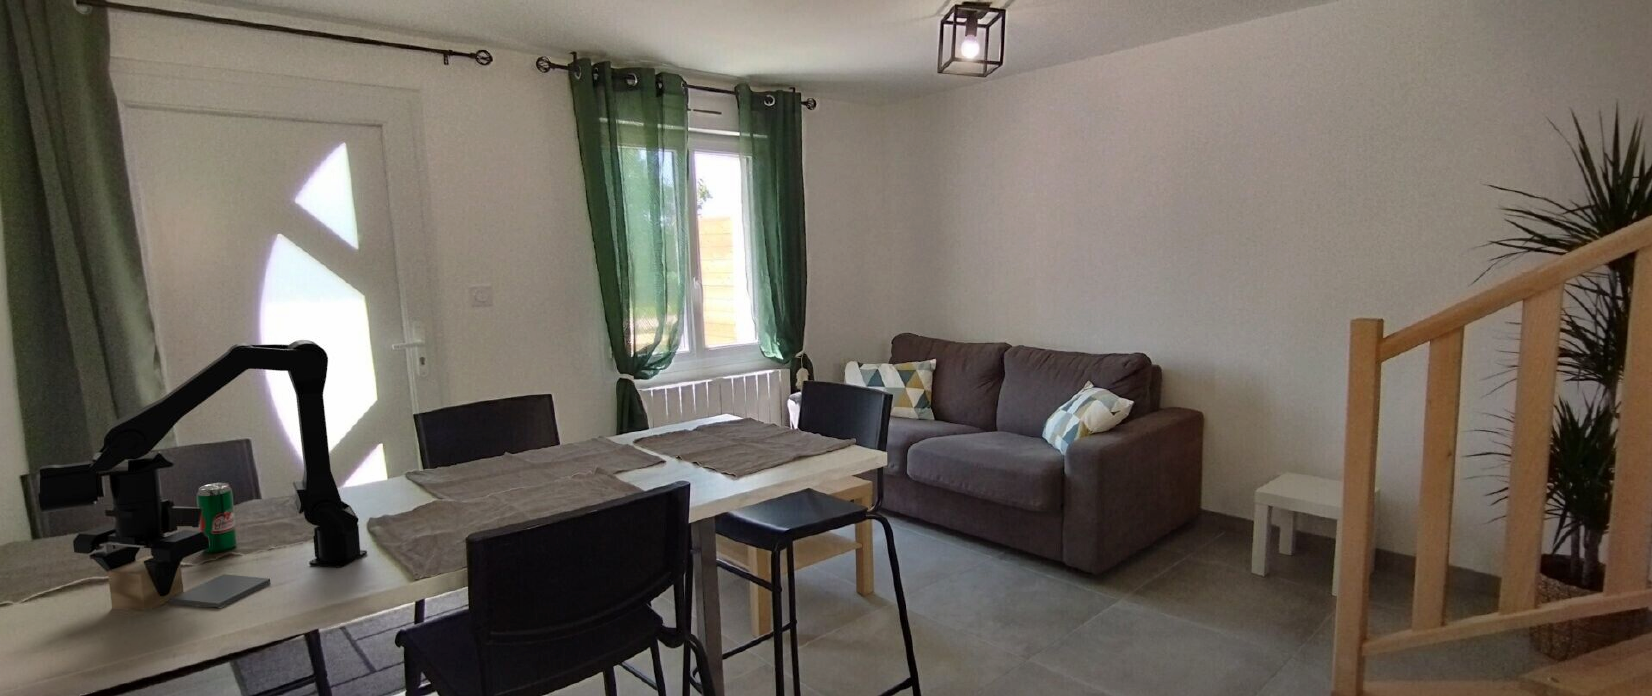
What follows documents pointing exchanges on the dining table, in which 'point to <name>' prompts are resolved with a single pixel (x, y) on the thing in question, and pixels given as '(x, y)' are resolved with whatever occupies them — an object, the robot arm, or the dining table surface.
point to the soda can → (217, 516)
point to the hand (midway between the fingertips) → (147, 593)
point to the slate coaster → (220, 591)
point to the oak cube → (138, 587)
